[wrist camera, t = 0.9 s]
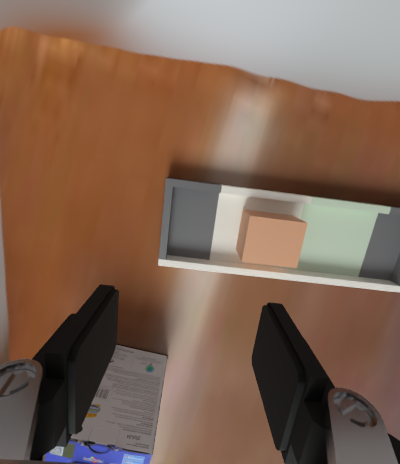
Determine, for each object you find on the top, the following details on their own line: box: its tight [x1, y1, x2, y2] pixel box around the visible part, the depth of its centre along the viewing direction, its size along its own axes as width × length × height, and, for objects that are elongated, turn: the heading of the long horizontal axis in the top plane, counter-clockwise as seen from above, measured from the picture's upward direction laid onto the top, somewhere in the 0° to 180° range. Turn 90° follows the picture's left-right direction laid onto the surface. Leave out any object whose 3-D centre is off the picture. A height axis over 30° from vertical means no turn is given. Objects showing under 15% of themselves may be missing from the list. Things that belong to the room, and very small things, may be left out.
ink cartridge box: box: [45, 345, 168, 464], centre depth 27 cm, size 10×6×14 cm, turn 74°
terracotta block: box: [236, 209, 308, 268], centre depth 27 cm, size 6×5×4 cm
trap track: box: [158, 178, 400, 292], centre depth 29 cm, size 30×10×2 cm, turn 83°
